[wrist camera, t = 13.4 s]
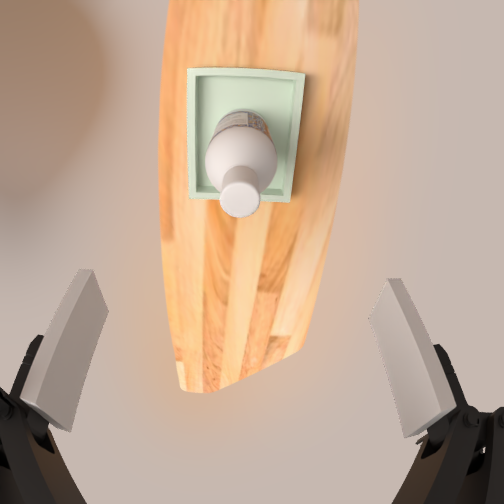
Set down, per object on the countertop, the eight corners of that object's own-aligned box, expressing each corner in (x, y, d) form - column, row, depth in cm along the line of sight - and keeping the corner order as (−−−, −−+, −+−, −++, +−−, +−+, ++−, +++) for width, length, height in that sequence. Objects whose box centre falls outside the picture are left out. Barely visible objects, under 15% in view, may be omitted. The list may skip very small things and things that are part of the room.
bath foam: (267, 157, 39) (284, 241, 23) (216, 156, 38) (194, 240, 23) (269, 108, 35) (293, 156, 19) (215, 107, 34) (188, 155, 18)
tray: (191, 67, 31) (187, 68, 29) (300, 72, 32) (305, 73, 30) (192, 189, 42) (189, 198, 40) (287, 193, 43) (289, 202, 41)
